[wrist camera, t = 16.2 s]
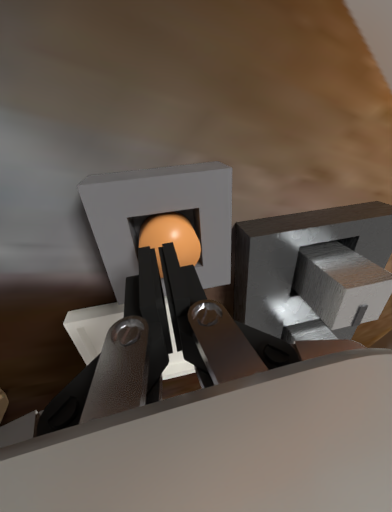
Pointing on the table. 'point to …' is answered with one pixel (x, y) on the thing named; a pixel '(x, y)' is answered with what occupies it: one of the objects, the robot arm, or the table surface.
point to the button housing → (159, 201)
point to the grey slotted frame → (285, 256)
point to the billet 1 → (307, 332)
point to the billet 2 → (340, 284)
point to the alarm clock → (3, 403)
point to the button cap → (171, 237)
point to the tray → (97, 325)
